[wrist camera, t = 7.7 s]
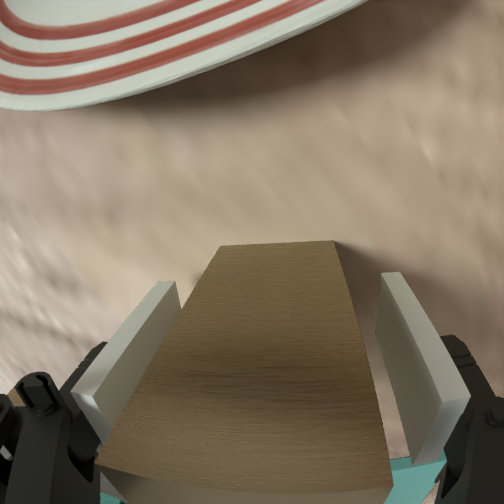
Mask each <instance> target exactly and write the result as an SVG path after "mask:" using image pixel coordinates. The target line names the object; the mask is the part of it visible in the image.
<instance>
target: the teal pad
mask: <svg viewBox="0 0 504 504" xmlns="http://www.w3.org/2000/svg"><path fill="white" fill-rule="evenodd" d="M446 461H447V459H446V456H445V452H444V450H443V451H442V453H441V455H440V457H439V458H438V460H437V461H434V462H430V463H425V464H420V465H415V466H412V463H411V458H410V457H406V458H400V459H394V460H390V465H391V471H392V477H393V483H394V486H393V488H392V490H391V492H390V493H389V495H388V497H387V499H386V500H385V502H384V504H420V503H421V502H422V501H423V500H424V498H425V497H426V496H427V494H428V493H429V492H430V490H431V489H432V488H433V486H434V485H435V484H436V483H434V481H435V479H436V477H437V475H438V474H439V472H440V471H441V469H442V468H443V466H444V465H445V463H446Z"/></svg>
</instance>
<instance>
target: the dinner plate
mask: <svg viewBox="0 0 504 504" xmlns="http://www.w3.org/2000/svg"><path fill="white" fill-rule="evenodd" d="M366 1H368V0H0V107H1V108H5V109H10V110H16V111H27V112H45V111H59V110H68V109H74V108H80V107H87V106H91V105H95V104H99V103H104V102H108V101H113V100H117V99H122V98H125V97H129V96H132V95H136V94H140V93H143V92H147V91H150V90H153V89H156V88H160V87H163V86H166V85H169V84H172V83H175V82H178V81H180V80H183V79H186V78H189V77H191V76H194V75H197V74H200V73H203V72H206V71H209V70H212V69H214V68H217V67H219V66H222V65H224V64H227V63H230V62H232V61H235V60H238V59H241V58H243V57H246V56H248V55H251V54H253V53H256V52H258V51H261V50H263V49H266V48H268V47H271V46H273V45H275V44H277V43H280V42H282V41H284V40H287V39H289V38H291V37H294V36H296V35H299V34H301V33H303V32H305V31H307V30H309V29H312V28H314V27H316V26H318V25H320V24H323V23H325V22H327V21H329V20H331V19H333V18H335V17H337V16H339V15H341V14H343V13H345V12H347V11H349V10H351V9H353V8H355V7H357V6H359V5H361V4H363V3H365V2H366Z"/></svg>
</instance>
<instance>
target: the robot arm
mask: <svg viewBox="0 0 504 504" xmlns="http://www.w3.org/2000/svg"><path fill="white" fill-rule="evenodd" d="M180 311H181V306H180V301H179V297H178V292H177V287H176V283H175V281H158V282H157V283H156V284H155V285H154V287H153V288H152V289H151V290H150V291H149V293H148V294H147V295H146V296H145V297H144V299H143V300H142V301H141V302H140V303H139V305H138V306H137V307H136V308H135V309H134V311H133V312H132V313H131V314H130V316H129V317H128V318H127V319H126V320H125V322H124V323H123V324H122V325H121V327H120V328H119V329H118V330H117V332H116V333H115V334H114V335H113V337H112V338H111V339H110V340H109V342H102V343H100V344H99V345H97V346H96V347H95V348H93V349H92V350H91V351H90V352H89V353H88V355H87V356H86V357H85V358H84V361H82V362H81V363H80V365H79V366H78V368H76V370H75V371H74V372H73V373H72V375H71V376H70V377H69V378H68V380H67V381H66V382H65V383H64V385H63V386H62V387H61V389H60V390H59V391H58V389H57V387H56V385H55V383H54V382H53V380H52V378H51V376H50V375H49V374H47V373H45V372H34V373H30V374H28V375H26V376H24V377H23V378H22V379H21V380H20V381H18V383H17V384H16V386H15V387H14V388H15V390H16V391H17V393H18V395H19V396H20V398H21V399H22V401H23V403H24V404H25V406H14V405H13V403H12V401H11V400H10V398H9V397H8V396H7V395H5V394H0V450H1V448H2V446H4V447H5V449H6V450H7V451H8V452H9V453H10V454H11V456H10V457H9V458H8V459H6V458H5V457H4V456H3V455H2V454H1V453H0V504H100V473H101V471H100V470H99V468H98V467H97V466H96V465H95V463H94V462H95V460H96V458H97V457H98V455H99V453H98V451H97V448H98V446H99V444H100V443H102V444H103V446H104V444H105V442H106V440H107V438H108V436H109V435H110V433H111V431H112V429H113V427H114V426H115V424H116V422H117V420H118V418H119V417H120V415H121V413H122V411H123V409H124V408H125V406H126V404H127V402H128V401H129V399H130V397H131V395H132V393H133V392H134V390H135V388H136V386H137V385H138V383H139V381H140V379H141V378H142V376H143V374H144V373H145V371H146V369H147V367H148V366H149V364H150V362H151V360H152V359H153V357H154V355H155V354H156V352H157V350H158V348H159V347H160V345H161V343H162V342H163V340H164V338H165V336H166V335H167V333H168V331H169V330H170V328H171V326H172V325H173V323H174V321H175V320H176V318H177V316H178V315H179V313H180ZM375 333H376V336H377V339H378V343H379V346H380V349H381V352H382V355H383V358H384V361H385V365H386V368H387V371H388V375H389V378H390V381H391V385H392V388H393V392H394V395H395V399H396V402H397V406H398V410H399V414H400V417H401V421H402V425H403V429H404V433H405V437H406V441H407V445H408V449H409V454H410V458H411V463H412V466H415V465H420V464H425V463H430V462H434V461H437V460H438V458H439V457H440V455H441V453H442V451H443V450H444V452H445V456H446V459H447V461H446V463H445V465H444V466H443V468H442V469H441V471H440V472H439V474H438V475H437V477H436V479H435V481H434V483H438V481H439V480H440V483H439V488H438V492H437V496H436V500H435V504H504V398H501V397H496V396H495V394H494V392H493V391H492V389H491V387H490V385H489V383H488V382H487V380H486V378H485V376H484V375H483V373H482V371H481V369H480V368H479V366H478V365H476V361H475V359H474V358H473V356H471V353H470V351H469V350H468V348H467V346H466V345H465V343H464V342H462V341H461V340H460V339H458V338H457V337H456V336H454V335H447V336H439V335H438V333H437V331H436V330H435V328H434V326H433V325H432V323H431V321H430V319H429V318H428V316H427V314H426V313H425V311H424V309H423V308H422V306H421V305H420V303H419V301H418V300H417V298H416V297H415V295H414V293H413V292H412V290H411V289H410V287H409V286H408V284H407V282H406V281H405V279H404V278H403V276H402V275H401V273H400V272H389V273H381V281H380V293H379V304H378V313H377V322H376V331H375ZM440 478H441V479H440Z"/></svg>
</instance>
